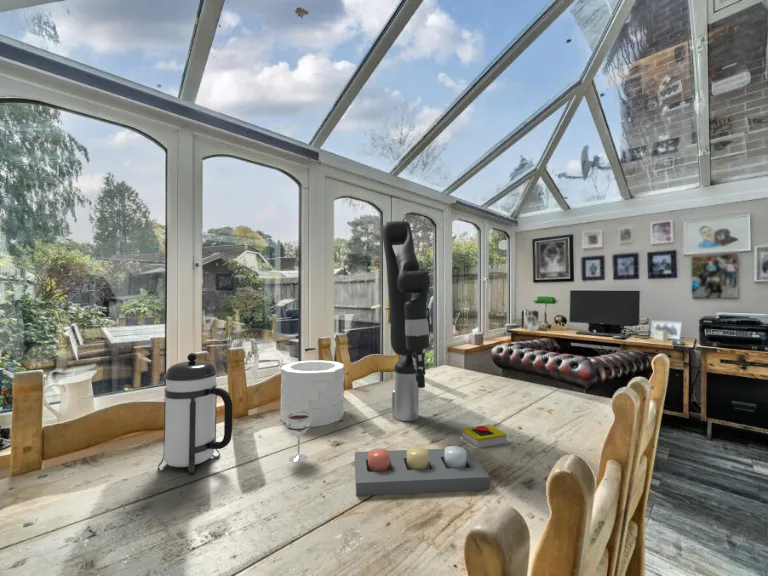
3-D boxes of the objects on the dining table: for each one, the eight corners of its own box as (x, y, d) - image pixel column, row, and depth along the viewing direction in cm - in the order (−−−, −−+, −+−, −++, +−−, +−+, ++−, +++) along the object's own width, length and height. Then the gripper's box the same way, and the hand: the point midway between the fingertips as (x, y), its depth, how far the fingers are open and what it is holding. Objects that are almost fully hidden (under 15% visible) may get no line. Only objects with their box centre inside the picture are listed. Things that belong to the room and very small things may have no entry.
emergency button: (457, 425, 116) (494, 419, 121) (457, 438, 116) (494, 432, 121) (474, 436, 107) (513, 429, 113) (474, 450, 107) (513, 443, 113)
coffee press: (153, 485, 85) (156, 360, 86) (160, 457, 99) (162, 350, 100) (231, 469, 93) (233, 355, 94) (227, 445, 107) (229, 347, 108)
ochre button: (408, 473, 88) (408, 457, 88) (405, 462, 94) (405, 447, 94) (430, 472, 89) (430, 456, 89) (425, 461, 94) (425, 446, 94)
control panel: (356, 496, 82) (356, 483, 82) (354, 462, 97) (354, 451, 98) (489, 489, 85) (489, 477, 85) (466, 458, 101) (467, 447, 101)
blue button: (447, 471, 89) (448, 455, 89) (441, 461, 95) (442, 446, 95) (469, 470, 90) (469, 455, 90) (462, 460, 95) (462, 445, 95)
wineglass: (315, 455, 102) (315, 413, 102) (302, 465, 96) (302, 421, 96) (294, 451, 104) (295, 410, 104) (281, 461, 98) (281, 418, 98)
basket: (276, 409, 141) (277, 362, 141) (334, 402, 151) (335, 358, 151) (285, 432, 118) (285, 376, 118) (352, 422, 128) (353, 370, 128)
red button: (368, 475, 87) (368, 458, 87) (367, 464, 93) (367, 448, 93) (391, 474, 88) (391, 458, 88) (388, 463, 93) (388, 448, 93)
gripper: (404, 332, 120) (407, 380, 119) (406, 336, 106) (409, 390, 105) (426, 330, 120) (429, 378, 119) (431, 334, 106) (434, 389, 105)
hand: (420, 384), depth 112 cm, fingers open, 8 cm apart
